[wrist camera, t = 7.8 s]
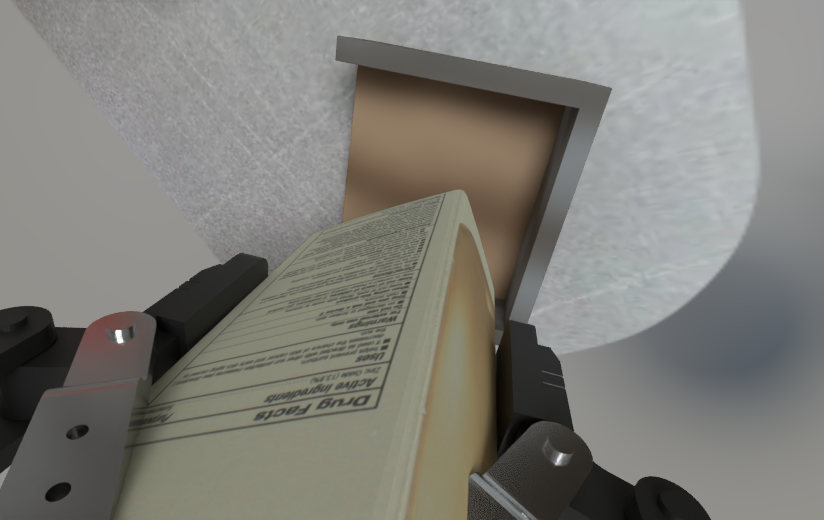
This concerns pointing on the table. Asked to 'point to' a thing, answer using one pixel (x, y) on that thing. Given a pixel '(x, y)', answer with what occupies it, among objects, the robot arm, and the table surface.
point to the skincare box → (335, 384)
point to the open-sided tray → (472, 152)
